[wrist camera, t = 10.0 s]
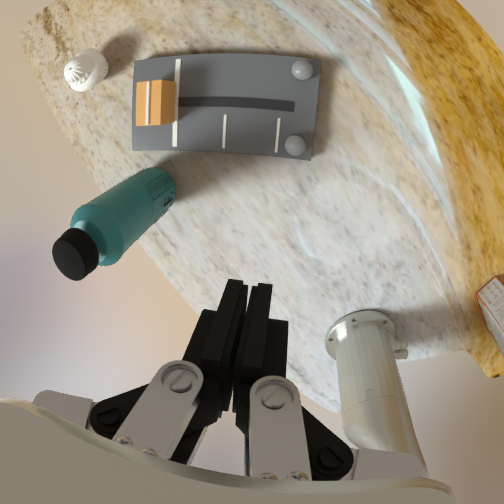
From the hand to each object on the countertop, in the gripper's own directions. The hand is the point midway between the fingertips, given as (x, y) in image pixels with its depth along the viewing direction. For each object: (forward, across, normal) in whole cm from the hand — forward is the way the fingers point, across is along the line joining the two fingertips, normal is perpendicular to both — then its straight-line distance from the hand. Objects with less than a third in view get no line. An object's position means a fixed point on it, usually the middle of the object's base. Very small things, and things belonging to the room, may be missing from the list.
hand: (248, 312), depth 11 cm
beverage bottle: (+26, +16, +3) cm, 30 cm away
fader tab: (+23, +14, -8) cm, 28 cm away
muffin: (+25, +25, -14) cm, 39 cm away
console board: (+25, +7, -8) cm, 28 cm away
